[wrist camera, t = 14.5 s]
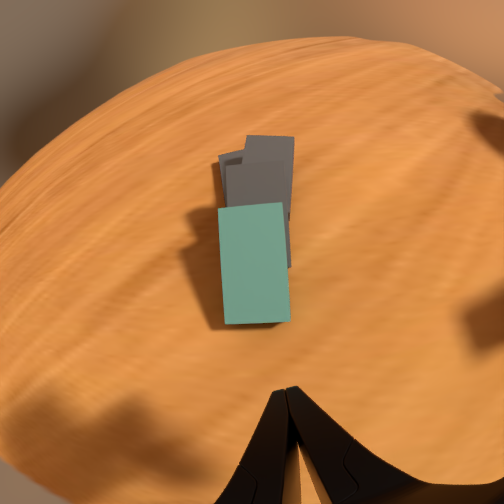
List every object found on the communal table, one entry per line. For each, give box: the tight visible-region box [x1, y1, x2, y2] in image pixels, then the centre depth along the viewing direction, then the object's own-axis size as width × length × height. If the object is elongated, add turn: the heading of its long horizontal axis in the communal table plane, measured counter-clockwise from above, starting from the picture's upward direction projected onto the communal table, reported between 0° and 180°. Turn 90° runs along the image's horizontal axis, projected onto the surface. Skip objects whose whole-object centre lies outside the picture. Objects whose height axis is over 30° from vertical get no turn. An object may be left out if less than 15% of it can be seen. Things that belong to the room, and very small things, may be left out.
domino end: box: [218, 149, 244, 207], centre depth 31 cm, size 2×5×9 cm
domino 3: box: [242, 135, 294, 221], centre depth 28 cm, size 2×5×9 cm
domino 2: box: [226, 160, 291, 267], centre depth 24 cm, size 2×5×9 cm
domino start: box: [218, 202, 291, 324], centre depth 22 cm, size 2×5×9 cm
